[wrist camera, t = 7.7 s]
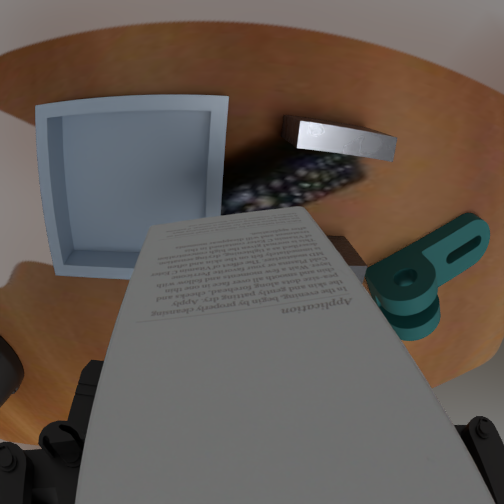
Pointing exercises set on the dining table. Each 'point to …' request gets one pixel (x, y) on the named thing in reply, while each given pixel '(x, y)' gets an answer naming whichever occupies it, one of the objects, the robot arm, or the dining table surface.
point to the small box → (263, 380)
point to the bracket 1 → (346, 142)
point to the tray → (125, 174)
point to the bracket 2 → (425, 274)
